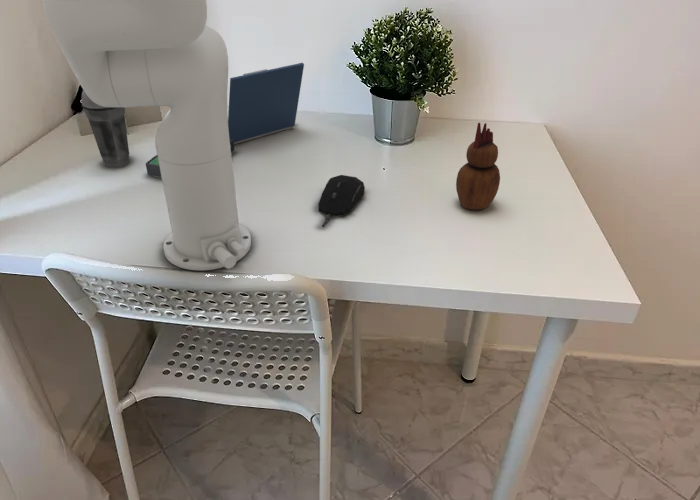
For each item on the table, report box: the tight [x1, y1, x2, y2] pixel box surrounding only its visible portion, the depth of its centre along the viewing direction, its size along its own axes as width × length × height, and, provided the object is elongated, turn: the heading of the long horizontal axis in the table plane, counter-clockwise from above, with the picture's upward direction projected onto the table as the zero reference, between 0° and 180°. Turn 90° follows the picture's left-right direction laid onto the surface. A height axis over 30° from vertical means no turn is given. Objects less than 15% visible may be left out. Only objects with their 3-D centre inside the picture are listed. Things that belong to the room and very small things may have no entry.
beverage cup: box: [81, 89, 131, 169], centre depth 104 cm, size 7×7×20 cm
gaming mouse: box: [317, 174, 366, 228], centre depth 96 cm, size 6×15×4 cm, turn 162°
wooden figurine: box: [455, 122, 501, 211], centre depth 93 cm, size 7×6×15 cm
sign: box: [227, 62, 305, 145], centre depth 116 cm, size 15×16×5 cm
